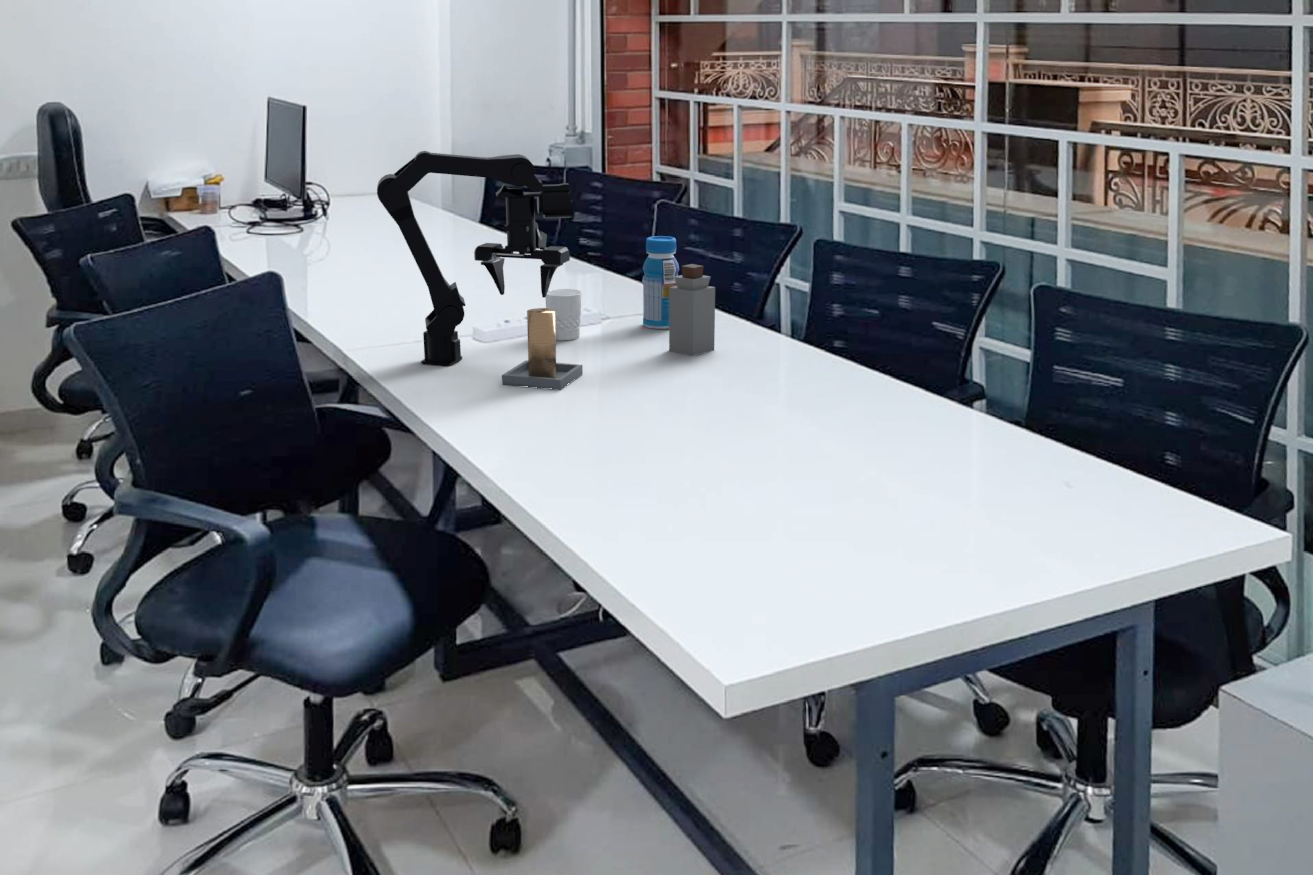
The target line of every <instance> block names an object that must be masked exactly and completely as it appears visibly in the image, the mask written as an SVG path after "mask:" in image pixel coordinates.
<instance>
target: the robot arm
mask: <svg viewBox="0 0 1313 875" xmlns="http://www.w3.org/2000/svg"><path fill="white" fill-rule="evenodd" d="M535 171H536V170H535V167H534V164H533V163H532V162H531V160H530V159H529V158H528V157H527V156H525V155H523V154H519V153H517V154H506V155H499V156H498V155H497V156H491V157H483V156H472V155H462V154H460V155H459V154H450V153H449V154H448V153H441V152H439V153H437V152H430V151H427V150H422V151H419V152H417V154H415V156H414V157H413V158H412V159H411V160H409V161H408V162H407V163H406V164H404V165H403V166H401V167H400V168H399V169H398V170H397V171H396V172H395V173H389V174H385V175H383V176H382V177H381V178H380V179H379V181H378V183H377V187H376V189H377V190H376V194H377V198H378V200H379V202H380V203H381V204H382V206H383V208H384V209H385V210H386V211H387V213H388V214H389V216H390V217H391V218H392V219H393V220H394V222H395V224H396V225H397V226H398V229H399V230H400V232H401V234H402V237H403V238H404V240H405V242H406V244H407V246H408V249H409V251H410V252H411V253H410V254H411V255H412V257H413V259H414V260H415V263H416V265H417V268H418V270H419V271H420V273H421V276H422V277H423V280H424V282H425V284H426V286H427V288H428V292H429V296H430V300H431V304H432V307H433V309H432V310H431V311H430V313H428V315H427V316H426V317H425V319H424V322H425V329H426V331H424V332H422V335H423V351H424V352H423V353H424V354H423V356H424V359H422V360H420V364H423V365H425V364H427V365H436V366H437V365H438V366H452V365H453V364H456V363H457V362H459V361H460V360H463V356H462V354H461V340H460V338H459V333H458V330H456V327H458V326H459V325H460V324H462V322H463V321H464V318H465V310H464V307H466V302H465V298H464V297H463V296H462V295H461V294H460V292H459V288H458V285H457V282H456V281H454V282H452V283H451V284H450V283H449V282H448V281H447V279H446V278H445V277H444V275H443V273H442V271H441V269H440V266H439V265H438V262H437V260H436V257H434V254H433V252H432V250H431V248H430V246H429V243H428V241H427V240H426V237H425V235H424V234H423V230H422V228H421V227H420V225H419V221H418V220H417V218H416V217H415V216H416V215H415V212H414V209H413V206H412V201H411V198H410V195H409V192H410V191H411V190H412V189H413V188H414V187H415V186H416V185H417V184H418V183H419V182H420V181H421V180H422V179H423V178H424V177H426V176H427V175H428V174H429V173H430V174H439V175H441V174H442V175H451V176H452V175H455V176H465V177H475V178H486V179H491V180H494V181H497V182H500V183H503V184H502V185H501V187H500V188H499V189H498V190H497V191H496V192H495V195H496V197H497V198H499V199H500V198H501V199H503V198H505V213H506V214H505V215H506V218H505V219H506V224H505V225H504V226H503V228H504V229H503V230H504V231H505V232H506V236H507V237H506V238H507V239H506V242H507V245H505V246H504V247H503V244H502V243H498V242H497V243H495V242H485V243H482V244H480V245H477V246H476V247H475V249H474V251H473V254H474V261H479V262H480V265H481V266H485V268H486V270H487V272H488V273H489V275H490V276H491V278H492V280H493V282H494V284H495V286H496V288H497V290H498V293H499V294H500V295H501V296H503V295H505V287H506V285H505V276H504V265H505V258H509V259H510V258H511V259H529V260H532V259H533V260H541V262H542V263H543V264H541V265H540V267H539V268H540V271H539V272H540V288H541V291H540V292H541V297H542V298H545V297H546V295H547V292H548V291H549V288H550V285H551V281H552V280H553V276H554V274H555V272H556V270H557V269H558V268H559V267H562V266H563V265H564V263H567V262H569V261H570V260H571V259H570V256H571V255H570V250H569V249H568V247H566V246H555V245H551V246H548V247H547V239H548V238H547V237H548V234H547V233H545V232H543V231H541V230H539V224H538V222H536V212H535V211H536V210H535V209H537V214H542V216H543V217H542V218H543V219H566V218H567V219H568V218H572V217H573V200H572V194H571V185H570V184H569V183H568V182H566V183H565V182H564V183H559V184H543V181H541V180H540V179H539V178H537V176H535V174H536V173H535ZM506 184H507V185H511V186H515V187H512V188H511V187H507V185H506ZM523 187H526V188H528V189H529V190H531V191H532V192H531V191H530V192H526V191H524V188H523ZM535 197H536V206H537V207H535ZM514 252H516V253H514Z"/></svg>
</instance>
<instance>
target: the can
mask: <svg viewBox="0 0 1313 875" xmlns="http://www.w3.org/2000/svg"><path fill="white" fill-rule="evenodd" d="M526 320H527V322H526V323H527V325H526V326H527V327H526V328H527V360H528V371H529V376H533V377H545V378H556V363H557V343H556V342H557V340H556V326H555V310H553V309H548V308H546V307H537V308H530V309H527V311H526Z"/></svg>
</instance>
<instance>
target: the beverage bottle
mask: <svg viewBox="0 0 1313 875" xmlns="http://www.w3.org/2000/svg"><path fill="white" fill-rule="evenodd" d="M645 251H646V254H648V256H647V257H646V259H645V261H644V262H643V266H642V271H643V274H644V275H643V276H642V280H641V283H642V288H643V290H642V292H643V293H642V294H643V296H642V297H643V298H642V301H643V303H642V304H643V308H642V309H643V310H642V311H643V312H642V313H643V315H642V316H643V317H642V324H643V326H644V327H646V328H648V329H652V330H669V291H670V287H674V286H677V285H676V282H675V278H674V277H675V276H679V271H680V266H679V262H678V261H677V258H676V257H675V256H674V254H675V255H676V253H677V239H676V238H675V237H673V236H666V235H665V236H664V235H657V236H656V235H655V236H648V237H646V241H645Z"/></svg>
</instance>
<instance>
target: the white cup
mask: <svg viewBox="0 0 1313 875" xmlns="http://www.w3.org/2000/svg"><path fill="white" fill-rule="evenodd" d="M545 308H548V309H553V310H555V326H556V341H572V340H577V339H579V338H580V335H581V334H580V333H581V330H580V326H581V315H582V291H581V290H580V289H579V290H578V289H574V288H573V289H571V288H555V289H550V290H549V289H548V292H547V295H546V297H545Z"/></svg>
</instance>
